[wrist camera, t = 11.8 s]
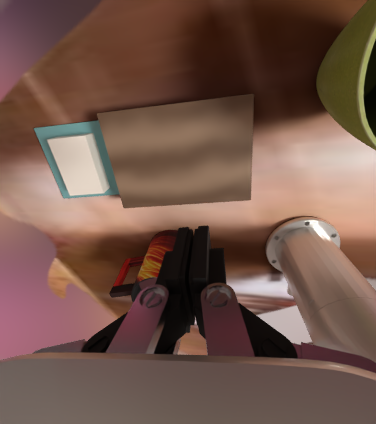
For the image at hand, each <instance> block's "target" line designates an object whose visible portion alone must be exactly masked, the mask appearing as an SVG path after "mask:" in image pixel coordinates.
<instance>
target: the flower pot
mask: <svg viewBox="0 0 376 424" xmlns="http://www.w3.org/2000/svg"><path fill="white" fill-rule="evenodd" d="M316 87H317V92H318V95H319V98H320V100H321V102H322V104H323V105H324V107H325V108H326V110H327V111H328V113H329V114H330V115H331V116H332V117H333V119H334V120H335V121H336V122H337V123H338V124H339V125H341V126H342V127H343V128H344V129H345V130H346V131H348V132H349V133H350V134H351V135H353V136H354V137H355V138H357V139H358V140H360V141H361V142H363V143H365V144H366V145H368V146H370V147H371V148H373V149H374V150H376V0H368V1H367V2H366V3H365V4H364V5H363V6H362V7H361V9H360V10H359V11H358V12H357V13H356V14H355V15H354V17H353V18H352V19H351V20H350V21H349V23H348V24H347V25H346V26H345V28H344V29H343V30H342V31H341V33H340V34H339V35H338V37H337V38H336V40H335V41H334V42H333V44H332V46H331V47H330V49H329V50H328V52H327V54H326V55H325V57H324V59H323V61H322V63H321V65H320V68H319V70H318V74H317V80H316Z"/></svg>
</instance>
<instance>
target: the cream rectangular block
mask: <svg viewBox="0 0 376 424" xmlns="http://www.w3.org/2000/svg"><path fill="white" fill-rule="evenodd" d="M47 141H48V144H49V146H50V148H51V151H52V153H53V156H54V158H55V161H56V163H57V166H58V168H59V170H60V173H61V175H62V178H63V180H64V183H65V185H66V188H67V190H68V193H69V195H70V196H74V195H88V194H101V193H105V192H106V191H107V190H108V189H109V188H110V186H109V183H108V179H107V176H106V173H105V170H104V166H103V163H102V160H101V156H100V153H99V150H98V147H97V143H96V140H95V137H94V133H88V134H79V135H70V136H61V137H55V138H52V139H48V140H47Z"/></svg>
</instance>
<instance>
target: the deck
mask: <svg viewBox="0 0 376 424" xmlns="http://www.w3.org/2000/svg"><path fill="white" fill-rule="evenodd" d="M253 112H254V94H246V95H238V96H230V97H222V98H214V99H206V100H198V101H190V102H182V103H174V104H166V105H158V106H150V107H142V108H134V109H126V110H118V111H110V112H103V113H97V117H98V120H99V124H100V127H101V131H102V134H103V138H104V141H105V145H106V148H107V152H108V155H109V159H110V162H111V166H112V169H113V173H114V176H115V180H116V183H117V186H118V190H119V193H120V197H121V200H122V204H123V207H124V208H135V207H151V206H167V205H182V204H198V203H213V202H229V201H244V200H251V176H252V144H253Z"/></svg>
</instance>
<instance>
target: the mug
mask: <svg viewBox="0 0 376 424" xmlns="http://www.w3.org/2000/svg"><path fill="white" fill-rule="evenodd" d="M177 232H178V231H176V230H166V231H163V232H160V233H158V234H157V235H155V236H154V237H153V239H152V240H151V243H150V246H149V248H148V251H147V253H146V256H141V257H135V258H129V259H126V260H125V262H124V264H123V266H122V268H121V270H120V273H119V275H118V277H117V279H116V281H115V283H114V285H113V287H112V289H111V291H110V293H109V294H110V296H111V297H120V296H127V295H131V298H132V301H133V303H134V301H135V299H136V297H137V296H138V294H139V293H140V291H142V290H143V289H144V288H146V287H148V286H151V285H155V283H156V280H157V277H158V274H159V271H160V267H161V264H162V261H163V258H164V255H165V252H166V251H173V247H174V244H175V240H176V236H177ZM138 265H142V266H141V269H140V271H139V274H138V276H137V279H136V282H135V283H133V284H126V285H122V284H123V282H124V279H125V277H126V275H127V273H128V271H129V268H130V267H132V266H138Z"/></svg>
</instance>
